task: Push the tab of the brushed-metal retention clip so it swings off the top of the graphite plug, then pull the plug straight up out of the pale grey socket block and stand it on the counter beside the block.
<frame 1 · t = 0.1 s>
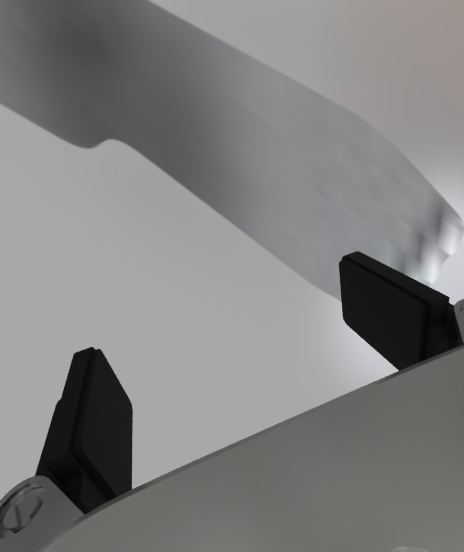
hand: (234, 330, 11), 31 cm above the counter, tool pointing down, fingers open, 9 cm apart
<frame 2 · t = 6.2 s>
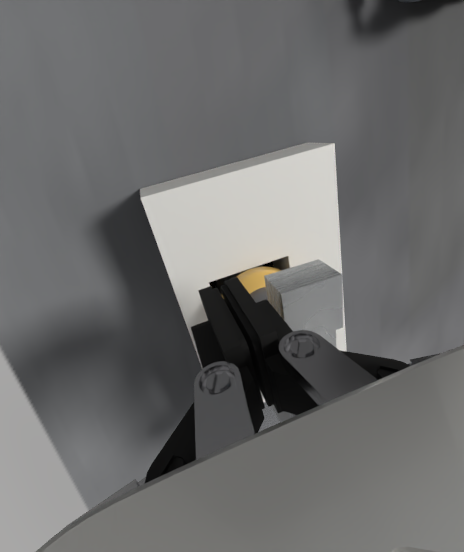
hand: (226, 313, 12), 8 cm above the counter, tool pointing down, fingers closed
clip: (311, 391, 14), point 9 cm above the counter, hinge at 2.1°, touching gripper
plug: (242, 283, 22), resting in socket block
socket block: (242, 283, 21), on the counter
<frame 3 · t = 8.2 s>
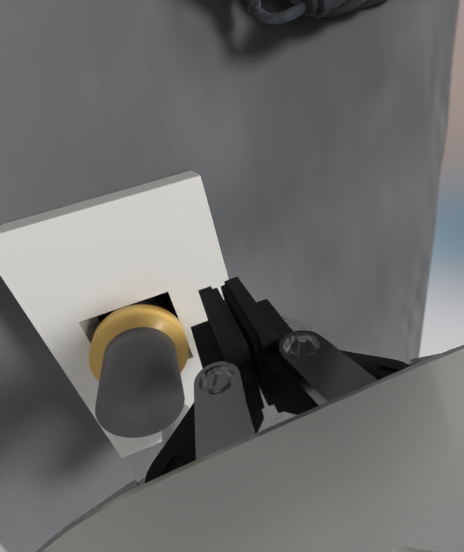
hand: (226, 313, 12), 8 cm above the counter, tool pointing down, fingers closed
clip: (233, 437, 14), point 9 cm above the counter, hinge at 42.3°, touching gripper
plug: (140, 315, 20), resting in socket block
socket block: (140, 315, 20), on the counter
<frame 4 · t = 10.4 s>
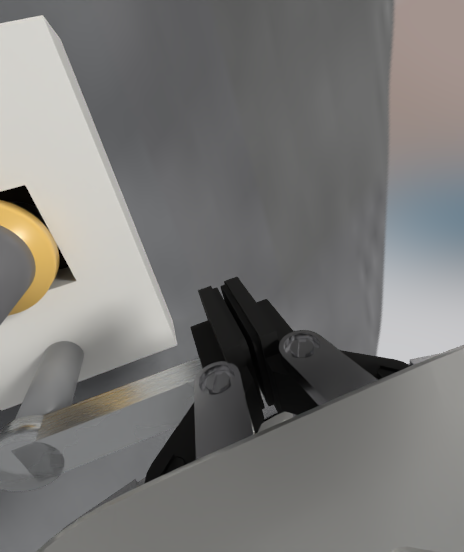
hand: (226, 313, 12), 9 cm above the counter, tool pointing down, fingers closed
clip: (154, 404, 13), point 9 cm above the counter, hinge at 90.7°, touching gripper
plug: (20, 235, 17), resting in socket block
socket block: (20, 235, 17), on the counter
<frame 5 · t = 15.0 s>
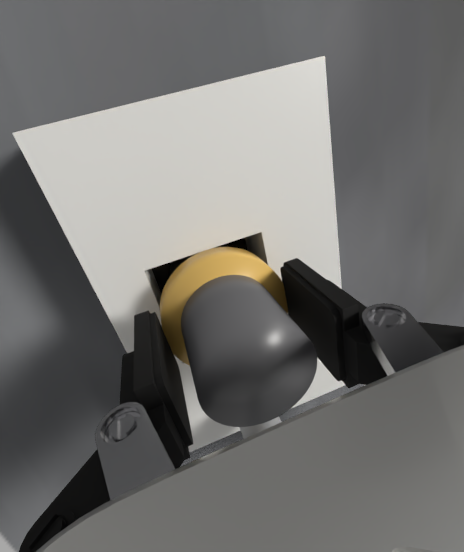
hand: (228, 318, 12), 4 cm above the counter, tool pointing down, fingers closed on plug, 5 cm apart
plug: (205, 274, 16), resting in socket block, touching gripper
socket block: (206, 274, 16), on the counter
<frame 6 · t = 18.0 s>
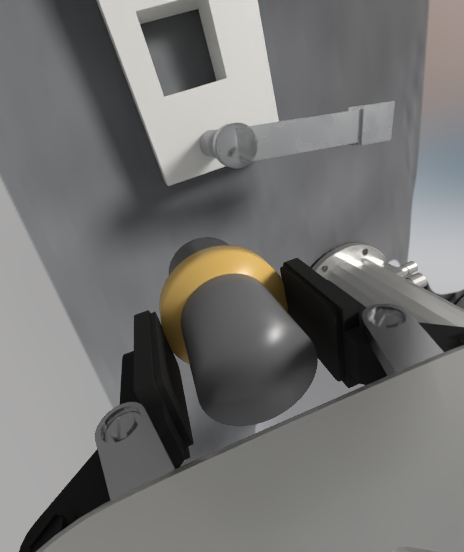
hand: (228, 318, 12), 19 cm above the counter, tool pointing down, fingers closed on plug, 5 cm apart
clip: (305, 134, 20), point 9 cm above the counter, hinge at 98.4°
plug: (205, 272, 16), point 15 cm above the counter, touching gripper
socket block: (178, 56, 24), on the counter
when the fingers open (6 cm above the counter, at t = 21.2 s): plug stays where it is, on the counter.
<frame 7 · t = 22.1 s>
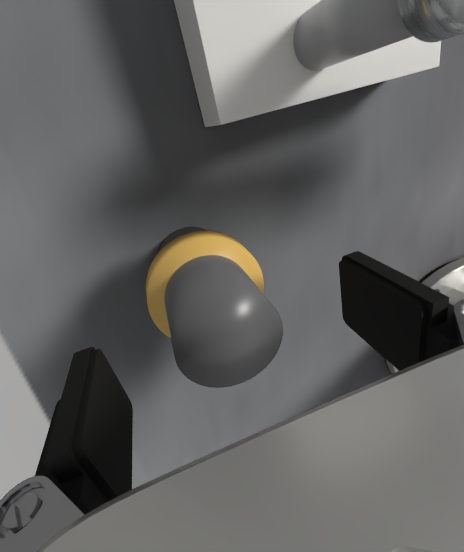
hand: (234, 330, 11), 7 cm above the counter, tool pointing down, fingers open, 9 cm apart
plug: (191, 259, 17), on the counter
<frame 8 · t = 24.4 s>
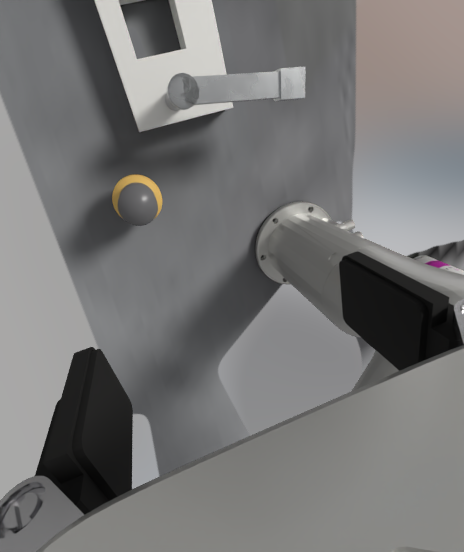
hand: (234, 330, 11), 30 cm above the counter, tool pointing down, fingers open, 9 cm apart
clip: (237, 88, 27), point 9 cm above the counter, hinge at 98.4°
supplement can: (411, 274, 56), on the counter
plug: (137, 193, 37), on the counter
socket block: (151, 31, 31), on the counter
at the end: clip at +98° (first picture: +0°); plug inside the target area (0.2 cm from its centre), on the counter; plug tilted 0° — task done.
